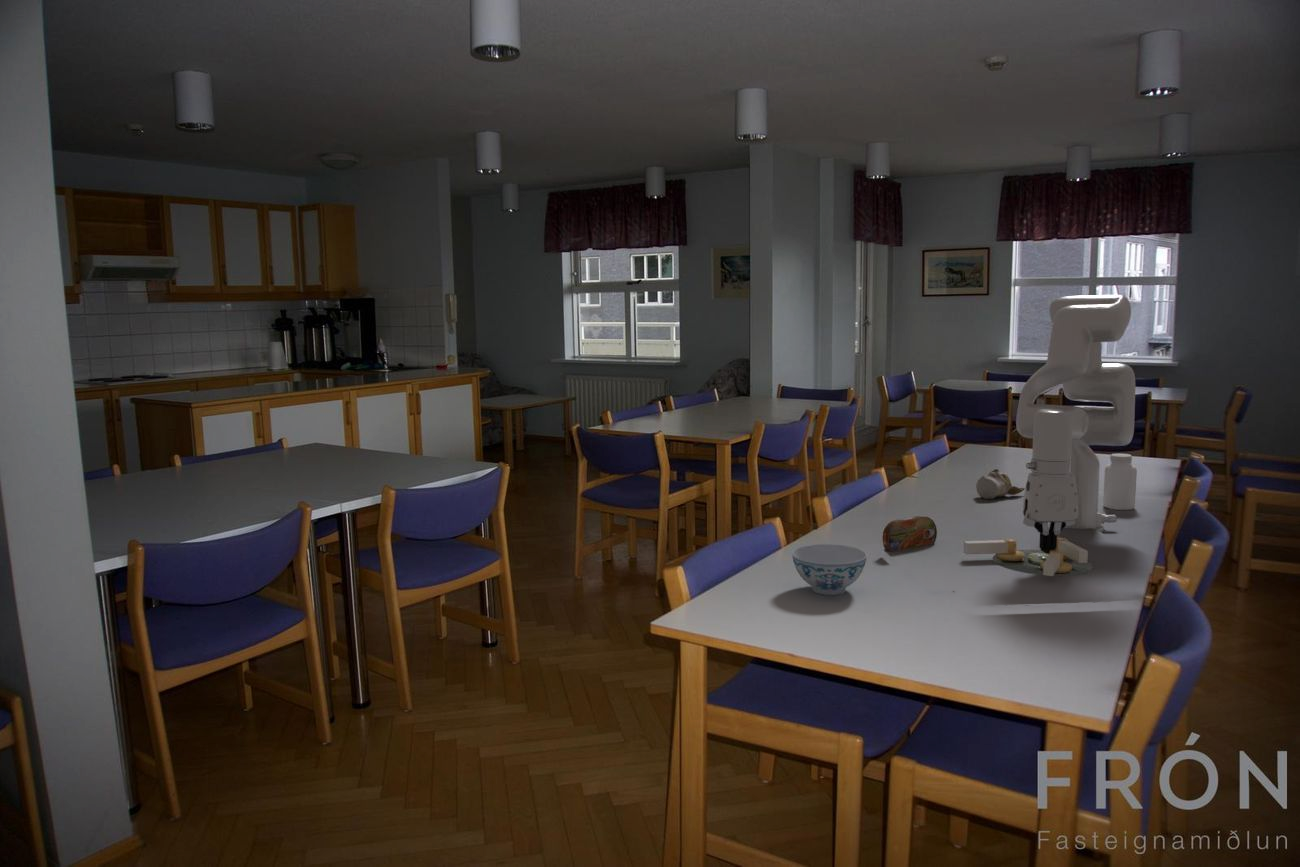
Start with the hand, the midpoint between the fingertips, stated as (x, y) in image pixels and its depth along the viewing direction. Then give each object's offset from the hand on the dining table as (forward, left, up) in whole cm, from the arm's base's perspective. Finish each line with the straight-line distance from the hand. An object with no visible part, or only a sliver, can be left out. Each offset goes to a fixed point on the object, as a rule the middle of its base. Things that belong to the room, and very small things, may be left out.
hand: (1047, 551), depth 192 cm
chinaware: (+49, +7, -5) cm, 50 cm away
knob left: (+9, -6, -3) cm, 11 cm away
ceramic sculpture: (-21, -77, -5) cm, 80 cm away
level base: (0, -3, -5) cm, 5 cm away
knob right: (-6, -3, -3) cm, 7 cm away
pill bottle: (-48, -58, -5) cm, 76 cm away
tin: (+24, -19, -5) cm, 31 cm away
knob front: (+2, +6, -3) cm, 7 cm away
